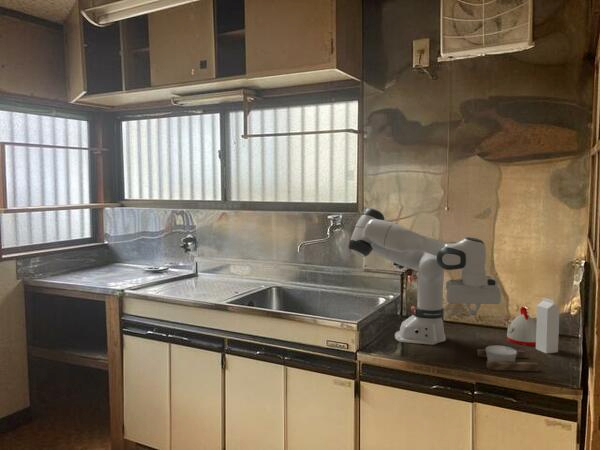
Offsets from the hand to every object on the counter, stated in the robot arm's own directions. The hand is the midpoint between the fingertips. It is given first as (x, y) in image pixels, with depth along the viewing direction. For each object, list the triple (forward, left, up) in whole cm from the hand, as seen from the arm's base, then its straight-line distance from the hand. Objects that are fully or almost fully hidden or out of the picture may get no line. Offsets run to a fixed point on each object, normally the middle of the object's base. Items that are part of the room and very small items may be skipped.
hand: (472, 314), depth 193 cm
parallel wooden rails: (+13, 0, -19) cm, 23 cm away
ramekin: (+11, 0, -19) cm, 22 cm away
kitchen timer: (+29, +29, -19) cm, 45 cm away
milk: (+34, +16, -19) cm, 42 cm away
